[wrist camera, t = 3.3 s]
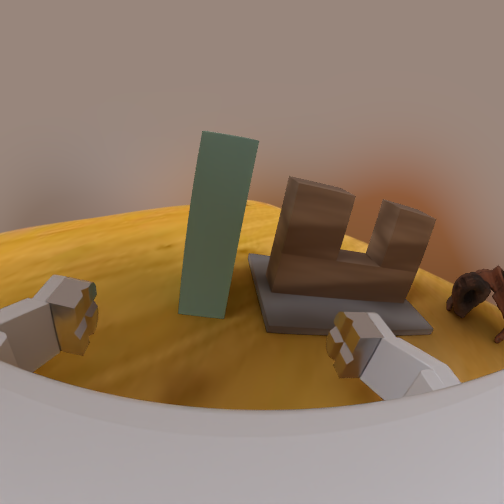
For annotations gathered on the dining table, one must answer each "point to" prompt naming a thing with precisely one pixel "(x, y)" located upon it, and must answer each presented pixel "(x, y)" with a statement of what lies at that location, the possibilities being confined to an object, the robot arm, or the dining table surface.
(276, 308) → the walnut slotted plate
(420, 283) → the dining table surface
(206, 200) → the teal green rectangular block
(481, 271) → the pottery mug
